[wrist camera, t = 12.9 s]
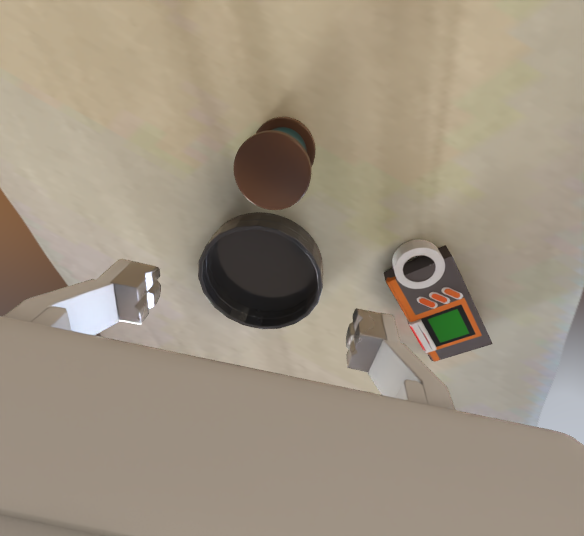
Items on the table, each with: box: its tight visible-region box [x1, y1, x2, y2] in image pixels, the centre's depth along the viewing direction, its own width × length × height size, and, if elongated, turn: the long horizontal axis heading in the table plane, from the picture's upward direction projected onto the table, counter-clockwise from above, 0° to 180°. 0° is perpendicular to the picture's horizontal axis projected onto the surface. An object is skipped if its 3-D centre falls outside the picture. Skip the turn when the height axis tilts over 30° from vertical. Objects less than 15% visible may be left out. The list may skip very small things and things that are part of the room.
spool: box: [234, 117, 315, 210], centre depth 26 cm, size 6×6×7 cm
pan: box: [198, 213, 323, 329], centre depth 35 cm, size 13×13×3 cm
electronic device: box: [384, 239, 492, 361], centre depth 35 cm, size 7×3×15 cm
